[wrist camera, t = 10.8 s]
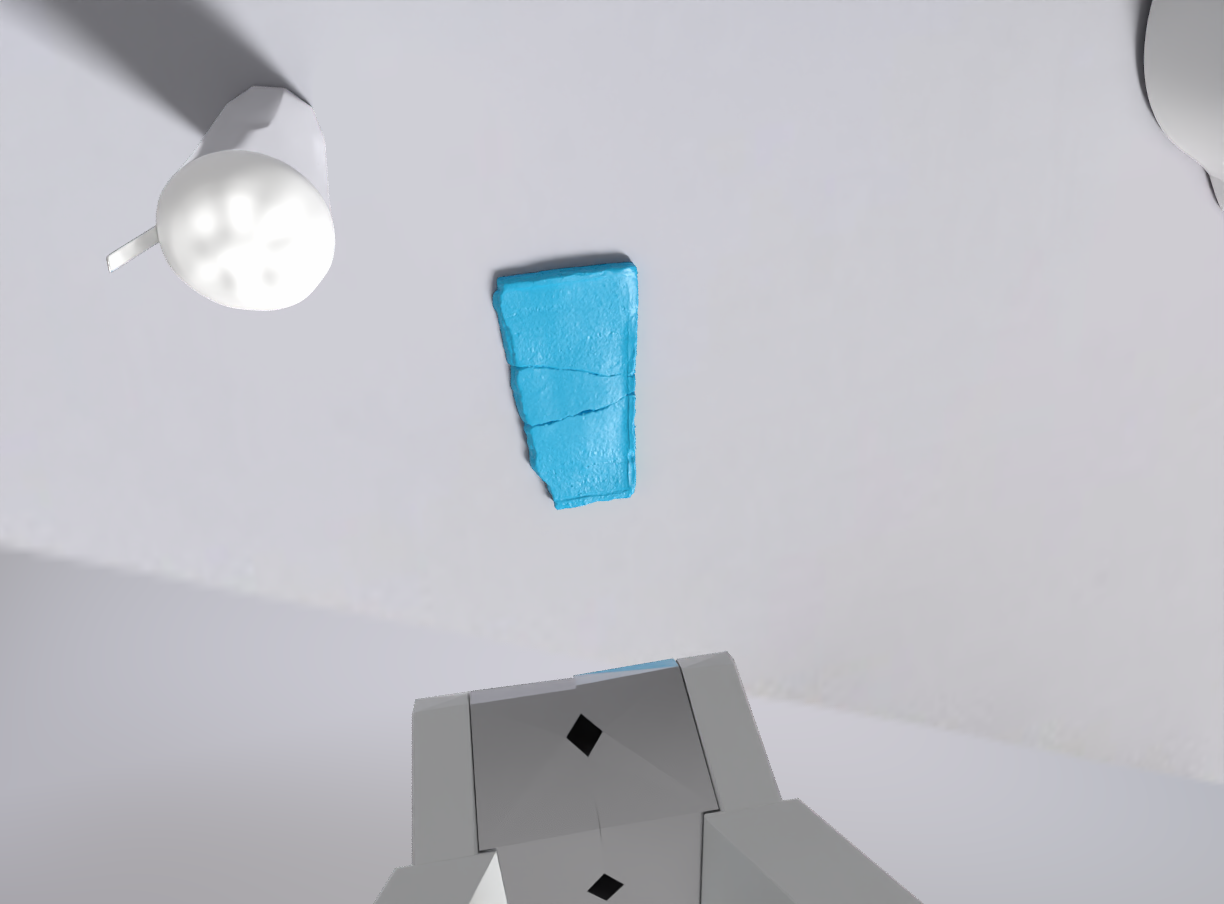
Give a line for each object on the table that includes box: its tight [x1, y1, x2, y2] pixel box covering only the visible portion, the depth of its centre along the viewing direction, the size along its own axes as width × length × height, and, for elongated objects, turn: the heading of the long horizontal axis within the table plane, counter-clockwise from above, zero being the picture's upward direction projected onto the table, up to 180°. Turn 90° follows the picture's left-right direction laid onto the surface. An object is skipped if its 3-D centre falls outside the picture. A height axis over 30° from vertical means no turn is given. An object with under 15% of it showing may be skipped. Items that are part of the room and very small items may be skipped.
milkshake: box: [106, 86, 335, 311], centre depth 29 cm, size 4×5×10 cm
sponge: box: [493, 262, 638, 510], centre depth 41 cm, size 2×12×6 cm
